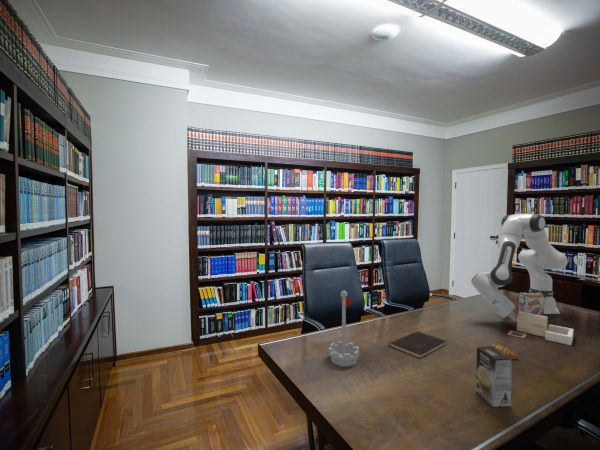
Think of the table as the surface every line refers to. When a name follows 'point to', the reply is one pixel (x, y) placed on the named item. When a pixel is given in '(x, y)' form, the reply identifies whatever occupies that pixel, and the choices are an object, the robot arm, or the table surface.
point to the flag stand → (344, 342)
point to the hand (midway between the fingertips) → (516, 320)
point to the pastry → (506, 351)
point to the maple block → (532, 323)
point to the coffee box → (494, 376)
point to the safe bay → (559, 334)
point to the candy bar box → (531, 303)
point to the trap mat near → (517, 334)
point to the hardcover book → (418, 344)
